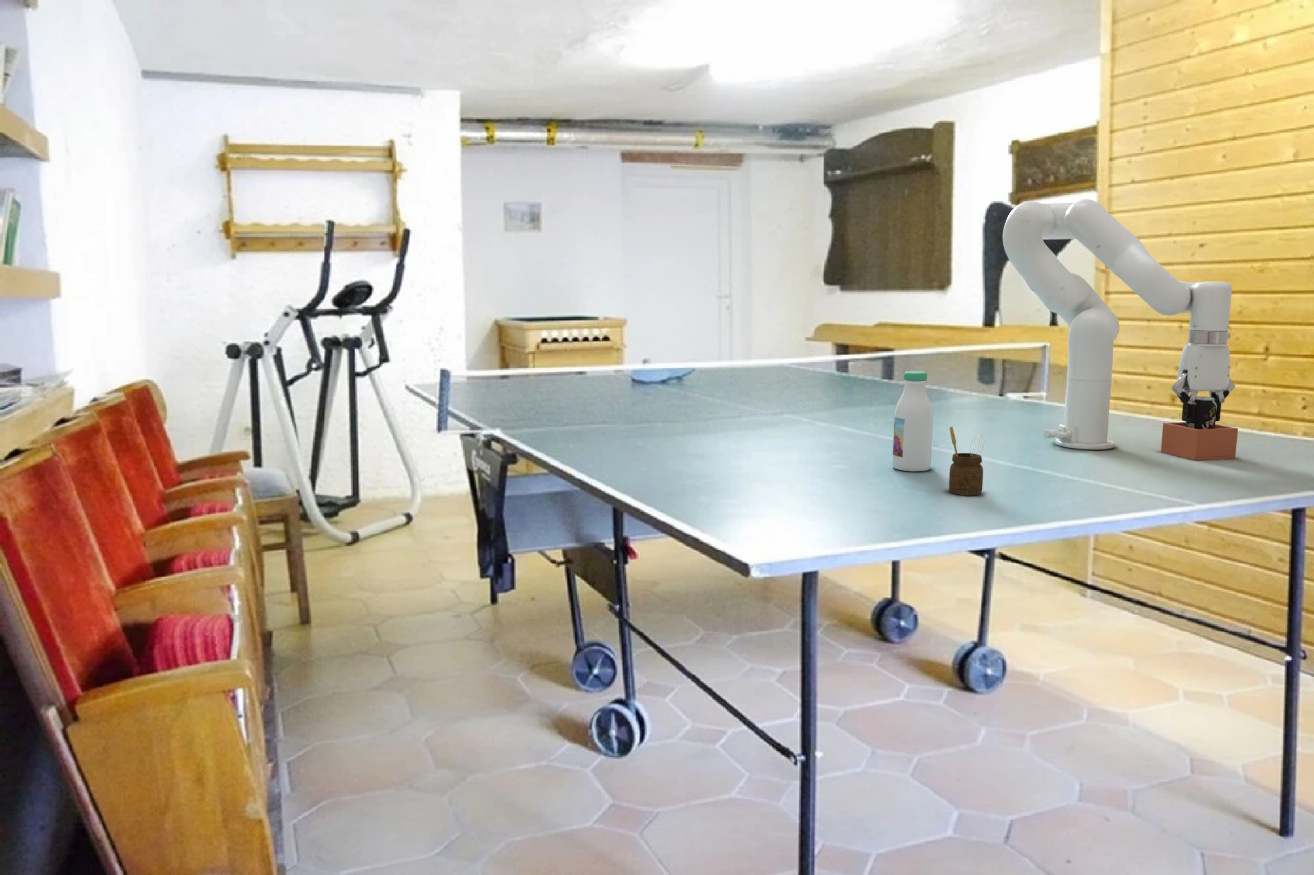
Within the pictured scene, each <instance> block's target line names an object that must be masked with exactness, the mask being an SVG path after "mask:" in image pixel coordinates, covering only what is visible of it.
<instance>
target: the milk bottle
mask: <svg viewBox="0 0 1314 875" xmlns="http://www.w3.org/2000/svg"><path fill="white" fill-rule="evenodd" d="M927 380H928V373H927V372H925V371H919V370H917V371H916V370H907V371H905V372H904V373H903V383H904V387H903V390H902V394H901V396H900V398H899V399H898V401H897V403H896V407H895V411H894V417H893V418H894V420H893V437H892V438H893V440H892V462H891V463H892V467H893V468H894V469H896V470H899V471H905V472H925V471H929V470H930V469H931V466H932V452H933V451H932V450H933V427H934V426H933V424H934V423H933V422H934V412H933V407H932V403H931V401H930V398H929V395H928V393H927V388H926V386H927V383H928V382H927Z"/></svg>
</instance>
